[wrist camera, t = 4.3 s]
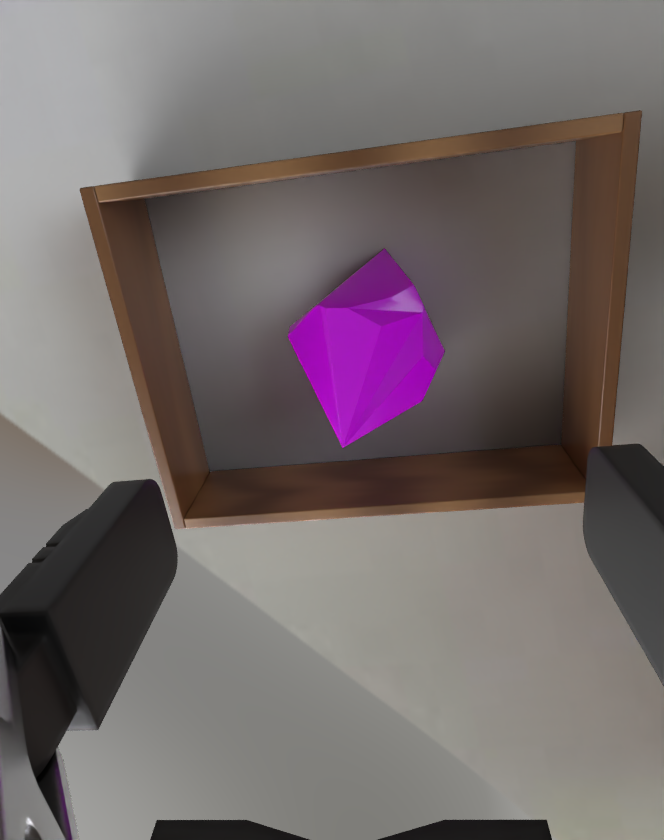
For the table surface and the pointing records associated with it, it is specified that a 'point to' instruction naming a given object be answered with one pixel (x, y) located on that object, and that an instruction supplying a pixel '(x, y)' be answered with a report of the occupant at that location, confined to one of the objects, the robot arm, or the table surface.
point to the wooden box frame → (397, 476)
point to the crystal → (368, 348)
